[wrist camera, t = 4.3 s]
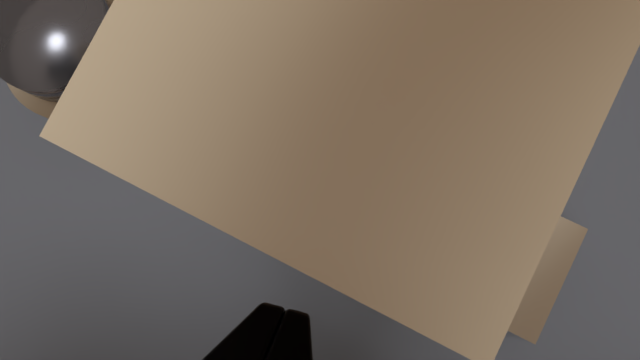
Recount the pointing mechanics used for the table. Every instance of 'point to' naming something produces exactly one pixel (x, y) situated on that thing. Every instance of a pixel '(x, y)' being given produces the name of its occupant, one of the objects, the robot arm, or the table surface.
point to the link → (365, 139)
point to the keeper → (46, 42)
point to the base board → (263, 265)
